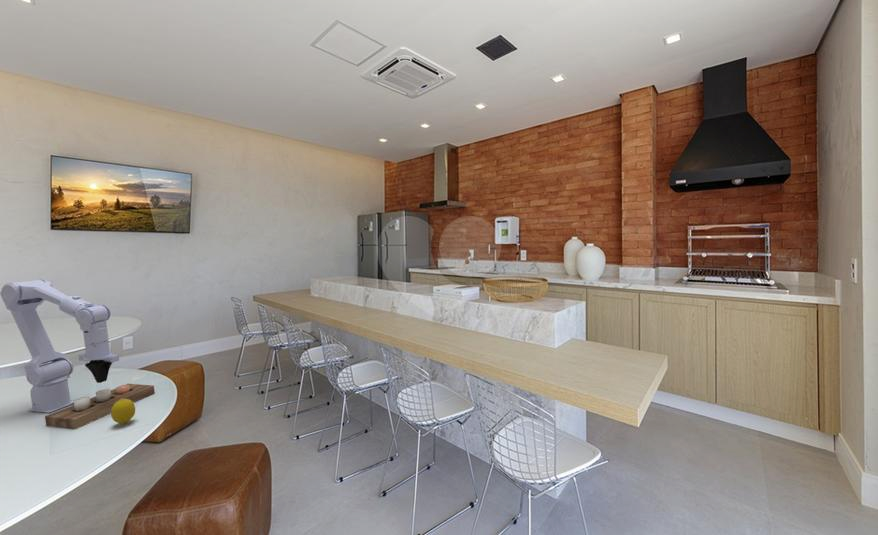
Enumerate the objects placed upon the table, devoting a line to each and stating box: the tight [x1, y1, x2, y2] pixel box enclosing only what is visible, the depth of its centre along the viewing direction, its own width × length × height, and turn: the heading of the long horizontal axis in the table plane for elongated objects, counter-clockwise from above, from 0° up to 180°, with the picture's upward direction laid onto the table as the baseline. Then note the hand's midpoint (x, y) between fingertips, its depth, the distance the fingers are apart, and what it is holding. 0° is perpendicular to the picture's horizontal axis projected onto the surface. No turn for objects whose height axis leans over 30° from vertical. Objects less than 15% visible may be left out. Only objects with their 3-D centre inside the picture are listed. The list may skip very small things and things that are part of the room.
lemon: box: [110, 398, 136, 425], centre depth 108 cm, size 6×6×8 cm
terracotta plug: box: [115, 384, 130, 395], centre depth 125 cm, size 4×4×3 cm
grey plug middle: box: [95, 388, 111, 402], centre depth 119 cm, size 4×4×3 cm
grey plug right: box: [73, 396, 91, 411], centre depth 113 cm, size 4×4×3 cm
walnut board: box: [44, 383, 156, 430], centre depth 119 cm, size 12×24×3 cm, turn 168°
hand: (101, 381), depth 118 cm, fingers closed
